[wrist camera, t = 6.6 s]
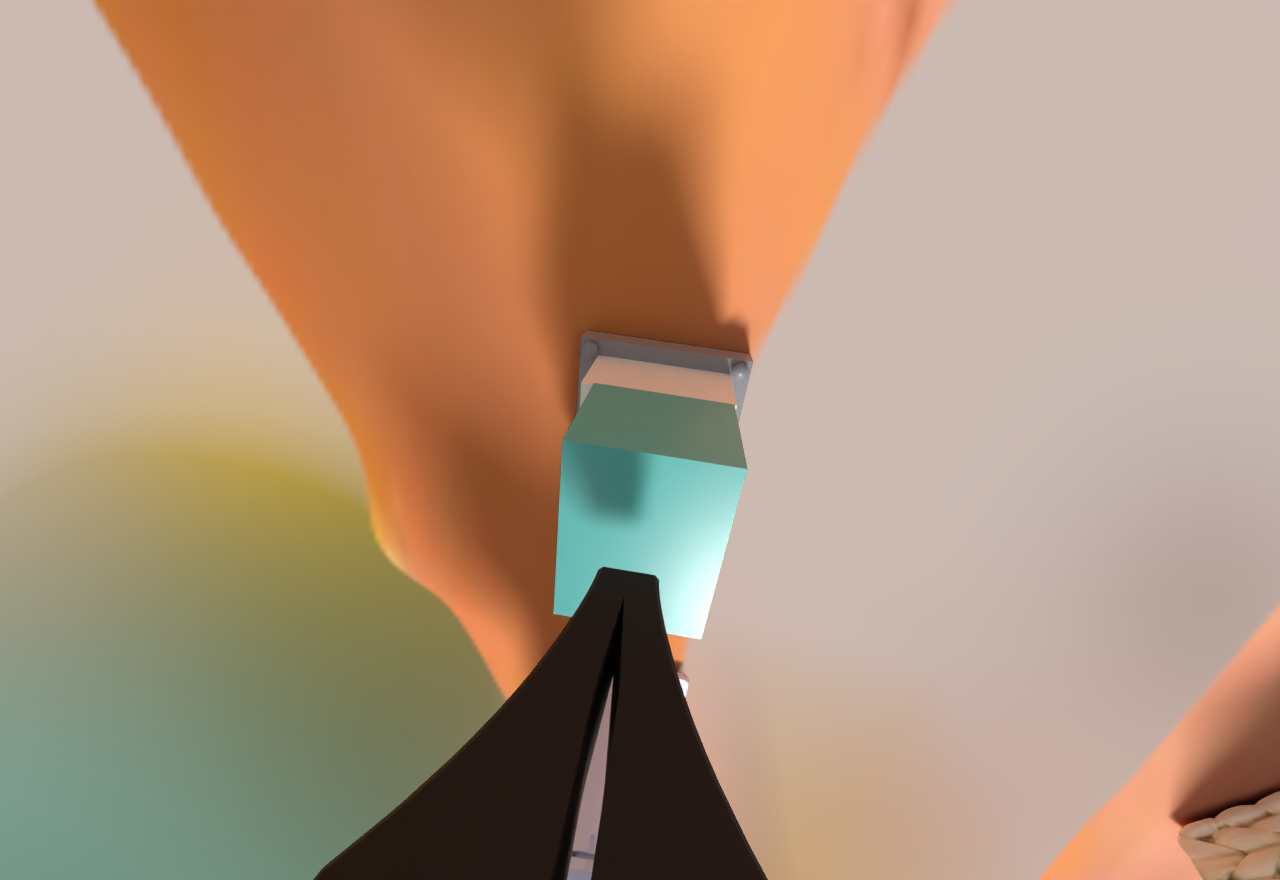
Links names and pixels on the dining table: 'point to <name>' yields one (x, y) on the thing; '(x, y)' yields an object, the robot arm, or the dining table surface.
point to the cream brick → (659, 379)
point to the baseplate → (666, 358)
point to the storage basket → (1236, 842)
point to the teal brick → (648, 497)
